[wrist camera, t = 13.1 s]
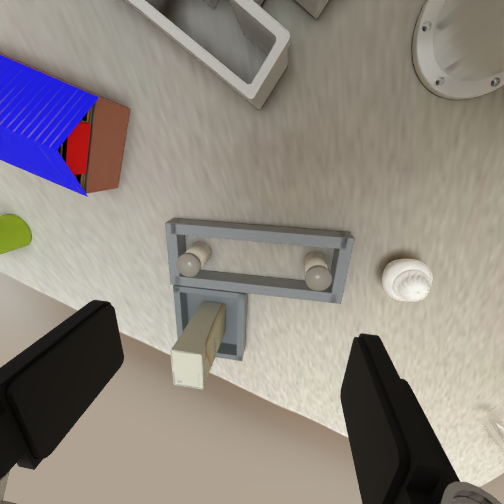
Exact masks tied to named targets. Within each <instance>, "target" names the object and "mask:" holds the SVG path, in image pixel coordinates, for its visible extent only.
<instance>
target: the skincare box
mask: <svg viewBox="0 0 504 504" xmlns="http://www.w3.org/2000/svg"><path fill="white" fill-rule="evenodd" d="M225 321H226V305H225V304H222V303H214V302H207V301H203V302H202V303H201V305H200V306H199V308H198V309H197V311H196V312H195V314H194V315H193V317H192V319H191V320H190V322H189V323H188V325H187V326H186V328H185V329H184V331H183V332H182V334H181V336H180V337H179V339H178V340H177V342H176V343H175V345H174V346H173V348H172V349H171V363H172V372H173V381H174V385H180V386H186V387H192V388H198V389H203V387H204V384H205V382H206V379H207V376H208V374H209V371H210V369H211V366H212V364H213V361H214V359H215V356H216V354H217V351H218V349H219V346H220V344H221V341H222V339H223V336H224V334H225Z"/></svg>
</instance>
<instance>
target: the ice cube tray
mask: <svg viewBox="0 0 504 504" xmlns="http://www.w3.org/2000/svg"><path fill="white" fill-rule="evenodd" d="M124 1H126V2H127V3H128V4H129V5H130V6H132V7H133V8H134V9H135V10H137V11H138V12H139V13H140V14H142V15H143V16H144V17H145V18H146V19H148V20H149V21H150V22H151V23H153V24H154V25H155V26H156V27H158V28H159V29H160V30H161V31H162V32H164V33H165V34H166V35H167V36H169V37H170V38H171V39H172V40H174V41H175V42H176V43H177V44H178V45H180V46H181V47H182V48H183V49H185V50H186V51H187V52H188V53H190V54H191V55H192V56H193V57H194V58H196V59H197V60H198V61H199V62H201V63H202V64H203V65H204V66H205V67H207V68H208V69H209V70H210V71H212V72H213V73H214V74H215V75H217V76H218V77H219V78H220V79H221V80H223V81H224V82H225V83H226V84H228V85H229V86H230V87H231V88H233V89H234V90H235V91H236V92H237V93H239V94H240V95H241V96H242V97H244V98H245V99H246V100H247V101H249V102H250V103H251V104H252V105H253V106H255V107H256V108H257V109H261V107H262V106H263V104H264V103H265V101H266V99H267V98H268V96H269V95H270V93H271V91H272V90H273V88H274V87H275V85H276V84H277V82H278V80H279V79H280V77H281V76H282V74H283V72H284V71H285V69H286V68H287V66H288V48H289V47H290V33H289V31H287V30H286V29H285V28H284V27H283V26H282V25H281V24H279V23H278V22H277V21H276V20H275V19H274V18H273V17H271V16H270V15H269V14H268V13H267V12H266V11H265V10H263V9H262V8H261V7H260V6H261V4H262V3H263V1H264V0H229V1H230V3H231V5H232V6H233V8H234V11H235V14H236V16H237V19H238V22H239V24H240V27H241V29H242V32H243V35H244V36H245V37H247V38H248V39H249V40H250V41H251V42H253V43H254V44H255V45H256V46H257V47H258V48H260V49H261V50H262V51H263V52H264V53H266V54H267V55H268V56H267V58H266V60H265V61H264V63H263V65H262V67H261V68H260V70H259V72H258V73H257V75H256V77H255V78H254V80H253V82H252V83H251V84H246V83H245V82H244V81H242V80H241V79H240V78H239V77H238V76H236V75H235V74H234V73H233V72H232V71H230V70H229V69H228V68H227V67H225V66H224V65H223V64H222V63H221V62H219V61H218V60H217V59H216V58H215V57H213V56H212V55H211V54H210V53H208V52H207V51H206V50H205V49H204V48H202V47H201V46H200V45H199V44H197V43H196V42H195V41H194V40H193V39H191V38H190V37H189V36H188V35H187V34H185V33H184V32H183V31H182V30H180V29H179V28H178V27H177V26H176V25H174V24H173V23H172V22H171V21H170V20H168V19H167V18H166V17H165V16H163V15H162V14H161V13H160V12H159V11H157V10H156V9H155V8H154V7H152V6H151V5H150V4H149V3H148V2H147V0H124ZM203 1H204V2H205V3H207V4H208V5H209V6H210V7H211V8H212V9H214V10H215V7H216V5H217V3H218V1H219V0H203ZM295 1H297V2H298V3H299V4H300V5H301V6H302V7H303V8H304V9H306V10H307V11H308V12H309V13H310V14H311V15H312V16H313V17H315V18H316V19H317V18H318V16H319V15H320V14H321V12H322V10H323V9H324V7H325V6H326V4H327V2H328V1H329V0H295Z"/></svg>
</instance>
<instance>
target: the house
mask: <svg viewBox="0 0 504 504" xmlns="http://www.w3.org/2000/svg"><path fill="white" fill-rule="evenodd" d="M86 113H87V120H86V121H85V120H83V121H82V118H83V117H84V116H85V115H86ZM89 113H90V118H89ZM129 115H130V109H128V108H126V107H124V106H121V105H119V104H117V103H115V102H112V101H110V100H108V99H105V98H103V97H101V96H98V95H96V94H94V93H91V92H89V91H87V90H84V89H82V88H80V87H77V86H75V85H73V84H70V83H68V82H66V81H63V80H61V79H59V78H56V77H54V76H52V75H49V74H47V73H45V72H42V71H40V70H38V69H35V68H33V67H31V66H28V65H26V64H24V63H22V62H19V61H17V60H15V59H12V58H10V57H8V56H5V55H3V54H1V53H0V160H2V161H5V162H7V163H9V164H12V165H14V166H16V167H19V168H21V169H23V170H26V171H28V172H30V173H33V174H35V175H38V176H40V177H42V178H45V179H47V180H49V181H52V182H54V183H56V184H59V185H61V186H63V187H66V188H68V189H71V190H73V191H75V192H78V193H80V194H82V195H85V196H87V195H86V193H92V192H97V191H103V190H108V189H114V188H118V183H119V177H120V171H121V165H122V158H123V152H124V146H125V140H126V133H127V127H128V121H129ZM64 141H65V151H64V160H63V158H62V146H63V142H64ZM67 141H68V142H67ZM57 150H58V151H57ZM60 152H61V153H60ZM66 155H67V156H66ZM87 197H88V196H87Z"/></svg>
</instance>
